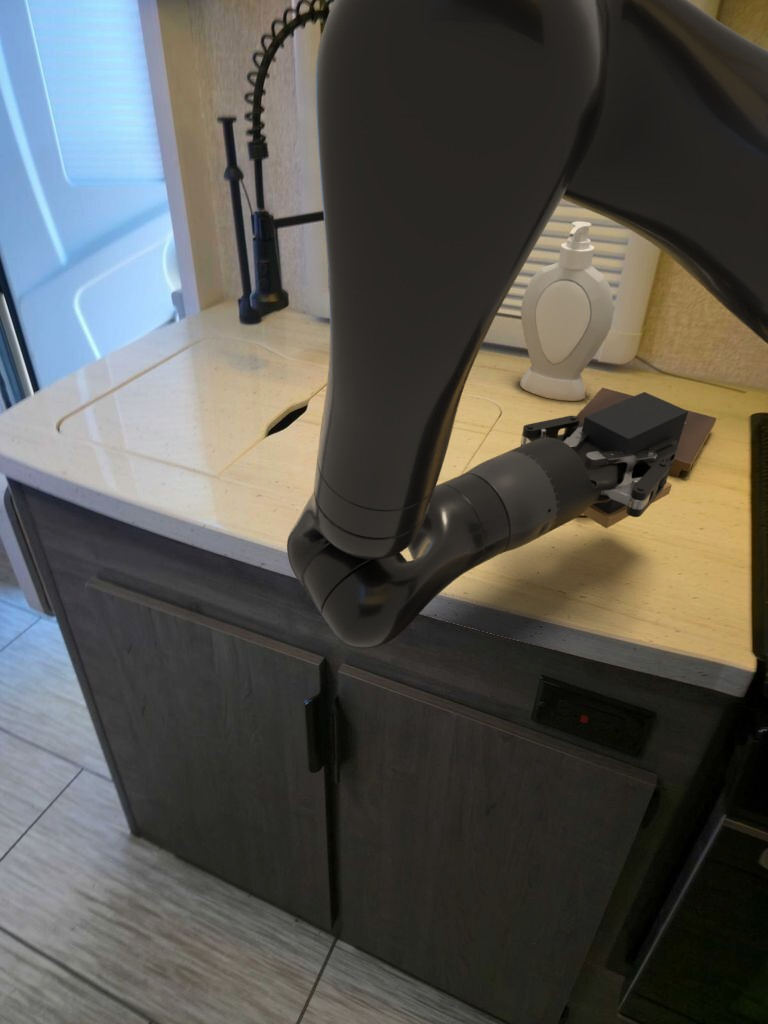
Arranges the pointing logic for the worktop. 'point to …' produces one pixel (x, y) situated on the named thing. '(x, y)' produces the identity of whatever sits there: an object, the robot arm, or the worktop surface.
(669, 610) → the worktop surface
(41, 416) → the worktop surface
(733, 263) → the robot arm
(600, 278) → the soap bottle
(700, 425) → the wooden base
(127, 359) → the worktop surface
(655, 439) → the matte black box
